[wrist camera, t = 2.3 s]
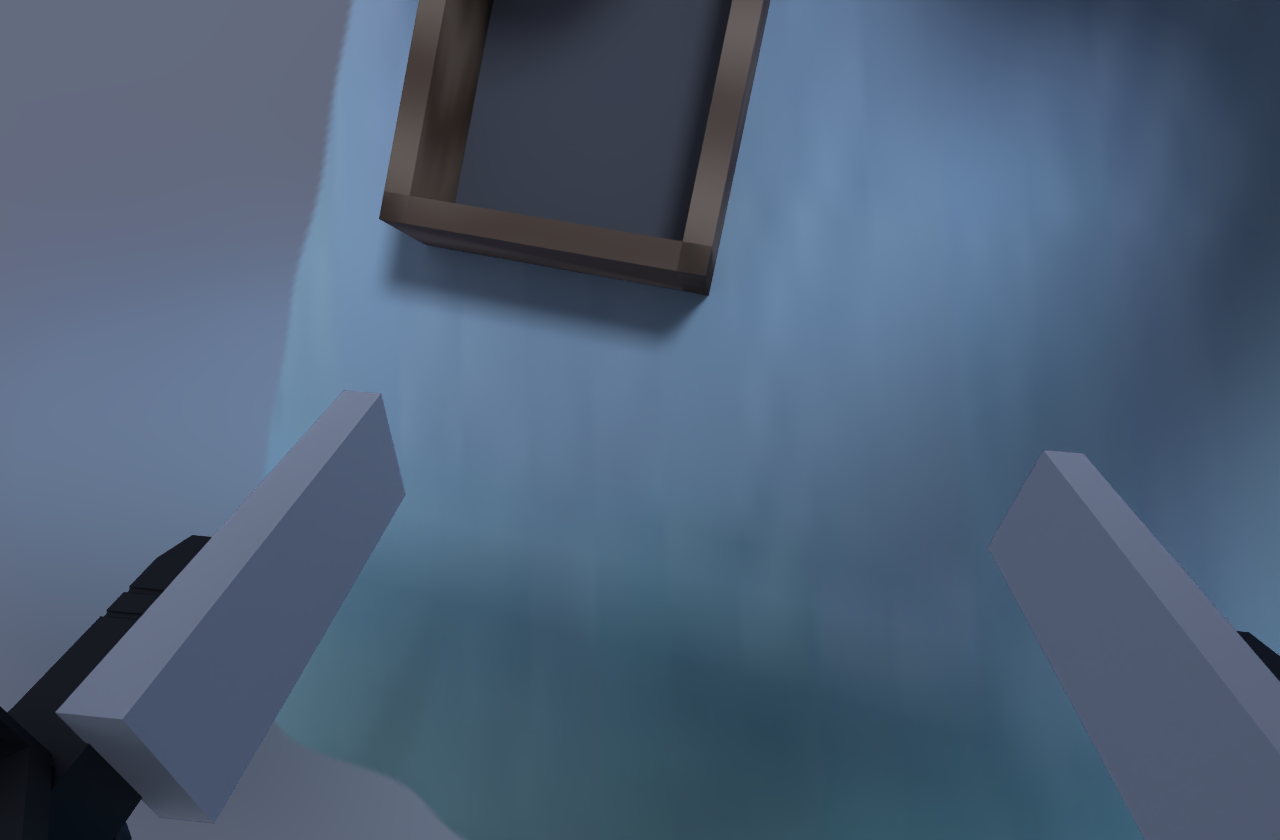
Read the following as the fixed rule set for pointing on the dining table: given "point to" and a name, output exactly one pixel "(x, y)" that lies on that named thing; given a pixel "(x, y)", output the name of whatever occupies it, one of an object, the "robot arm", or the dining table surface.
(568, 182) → the pad
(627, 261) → the walnut channel
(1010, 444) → the dining table surface
